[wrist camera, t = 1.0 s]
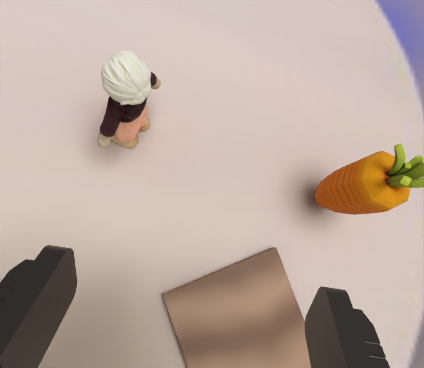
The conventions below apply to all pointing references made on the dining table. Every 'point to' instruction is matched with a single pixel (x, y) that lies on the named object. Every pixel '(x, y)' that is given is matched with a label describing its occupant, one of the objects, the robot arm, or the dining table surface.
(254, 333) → the walnut board
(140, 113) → the grandmother figurine
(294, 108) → the dining table surface
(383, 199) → the carrot
